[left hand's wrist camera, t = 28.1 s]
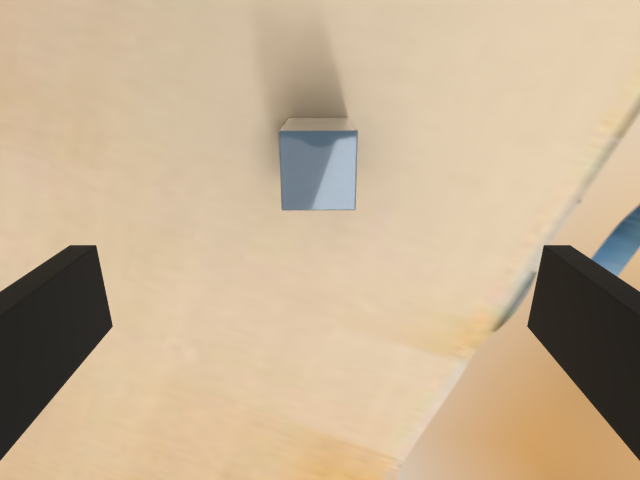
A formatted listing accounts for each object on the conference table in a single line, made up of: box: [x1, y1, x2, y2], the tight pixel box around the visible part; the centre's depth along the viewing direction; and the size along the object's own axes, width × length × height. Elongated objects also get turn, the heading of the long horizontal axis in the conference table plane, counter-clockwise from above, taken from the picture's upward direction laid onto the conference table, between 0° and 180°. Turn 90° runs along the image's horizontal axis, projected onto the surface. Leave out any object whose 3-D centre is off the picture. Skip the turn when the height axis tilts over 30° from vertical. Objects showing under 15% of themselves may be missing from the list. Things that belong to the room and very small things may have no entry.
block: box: [279, 118, 358, 210], centre depth 33 cm, size 5×5×10 cm
